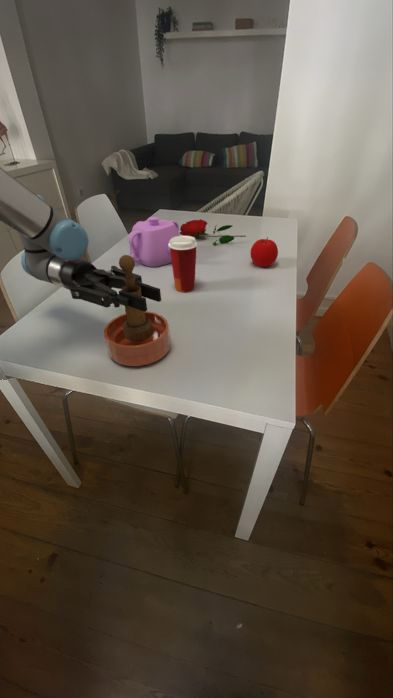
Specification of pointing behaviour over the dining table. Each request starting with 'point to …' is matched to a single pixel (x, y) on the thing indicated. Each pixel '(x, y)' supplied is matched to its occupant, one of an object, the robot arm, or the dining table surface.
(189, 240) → the coffee cup
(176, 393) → the dining table surface
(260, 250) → the fruit
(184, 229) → the flower
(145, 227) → the teapot
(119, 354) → the bowl
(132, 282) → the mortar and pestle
